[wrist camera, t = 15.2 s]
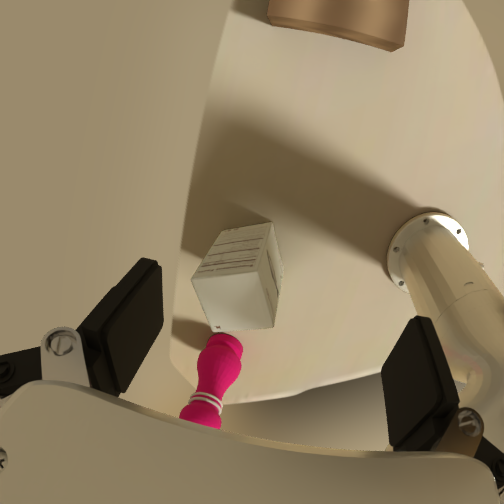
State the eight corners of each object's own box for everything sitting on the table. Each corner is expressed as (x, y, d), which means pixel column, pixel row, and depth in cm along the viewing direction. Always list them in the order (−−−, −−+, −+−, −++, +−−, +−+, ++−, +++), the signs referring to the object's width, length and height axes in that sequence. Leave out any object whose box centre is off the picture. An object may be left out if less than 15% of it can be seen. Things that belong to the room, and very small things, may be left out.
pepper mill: (199, 332, 51) (157, 428, 34) (239, 329, 50) (206, 434, 32) (213, 360, 54) (180, 452, 37) (250, 359, 53) (225, 458, 35)
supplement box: (285, 268, 43) (275, 330, 32) (234, 275, 45) (210, 334, 34) (274, 219, 40) (259, 271, 29) (220, 228, 41) (187, 279, 30)
